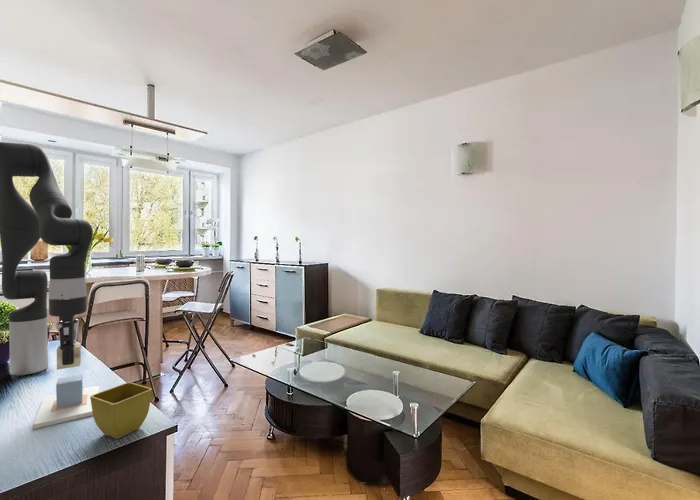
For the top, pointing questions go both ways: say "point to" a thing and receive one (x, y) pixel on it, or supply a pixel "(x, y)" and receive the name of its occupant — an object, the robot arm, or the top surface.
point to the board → (64, 409)
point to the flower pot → (121, 409)
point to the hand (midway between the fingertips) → (69, 361)
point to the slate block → (69, 391)
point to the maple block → (76, 357)
